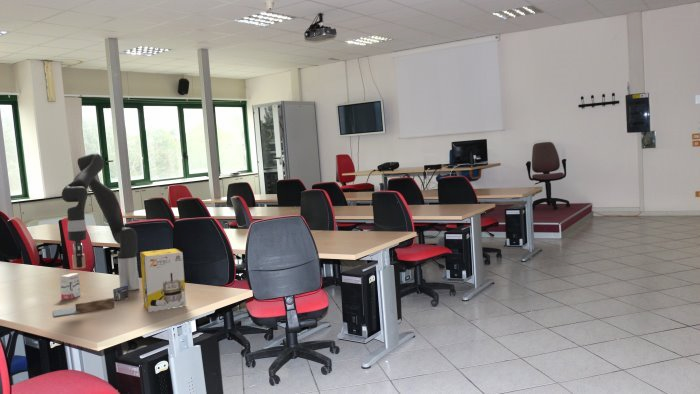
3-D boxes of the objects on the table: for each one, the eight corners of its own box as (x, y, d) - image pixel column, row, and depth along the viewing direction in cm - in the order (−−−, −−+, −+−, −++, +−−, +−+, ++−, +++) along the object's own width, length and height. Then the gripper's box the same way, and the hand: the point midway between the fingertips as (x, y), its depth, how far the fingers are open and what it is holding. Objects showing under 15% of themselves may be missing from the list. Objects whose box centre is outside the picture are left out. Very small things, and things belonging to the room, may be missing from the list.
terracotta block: (84, 266, 261) (83, 253, 261) (85, 267, 257) (84, 254, 257) (72, 267, 259) (72, 254, 258) (73, 269, 254) (72, 255, 254)
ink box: (69, 299, 280) (67, 276, 280) (61, 299, 281) (59, 276, 281) (81, 295, 289) (79, 272, 288) (72, 295, 290) (71, 273, 289)
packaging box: (148, 312, 247) (144, 256, 245) (143, 305, 261) (140, 252, 260) (186, 306, 254) (182, 252, 253) (179, 299, 268) (175, 248, 267)
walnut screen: (113, 306, 262) (113, 297, 261) (114, 306, 260) (113, 298, 260) (75, 312, 254) (75, 303, 254) (76, 312, 252) (75, 304, 252)
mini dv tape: (116, 301, 271) (115, 289, 271) (114, 301, 272) (113, 289, 271) (128, 297, 279) (127, 285, 279) (126, 297, 280) (125, 285, 279)
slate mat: (77, 308, 261) (77, 306, 261) (79, 313, 251) (78, 312, 251) (53, 311, 256) (53, 310, 256) (53, 317, 246) (53, 316, 246)
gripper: (87, 230, 253) (89, 267, 253) (84, 228, 265) (86, 263, 266) (68, 231, 249) (70, 269, 250) (67, 229, 261) (69, 265, 262)
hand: (79, 266), depth 258 cm, fingers closed on terracotta block, 5 cm apart
